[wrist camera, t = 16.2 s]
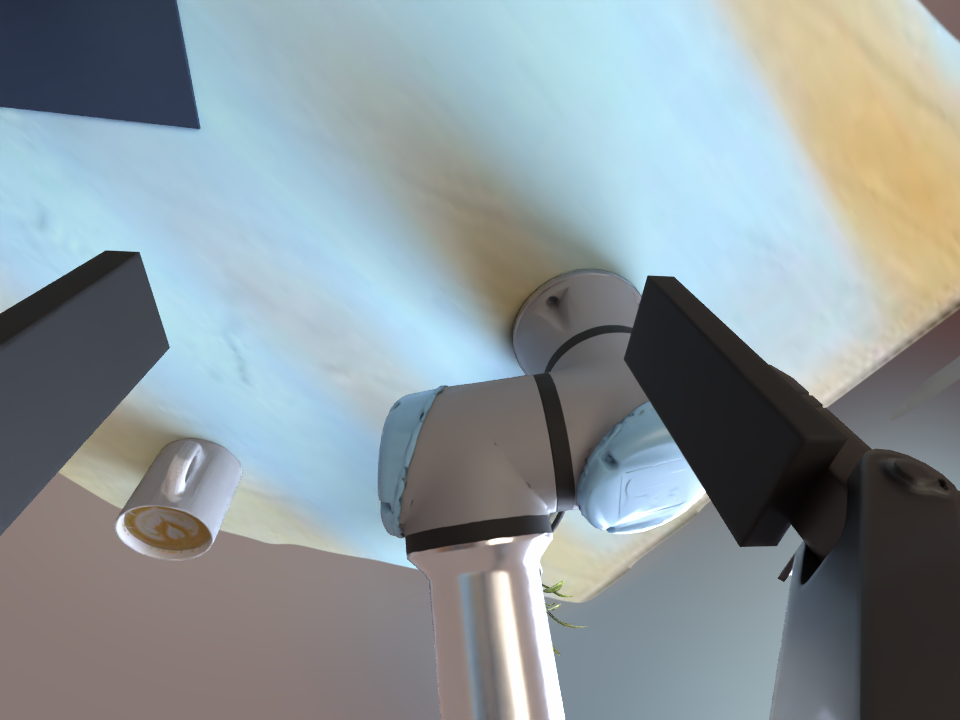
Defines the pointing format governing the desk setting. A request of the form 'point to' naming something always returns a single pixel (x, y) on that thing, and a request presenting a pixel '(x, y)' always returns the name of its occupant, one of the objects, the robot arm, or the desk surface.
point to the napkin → (97, 60)
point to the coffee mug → (180, 501)
